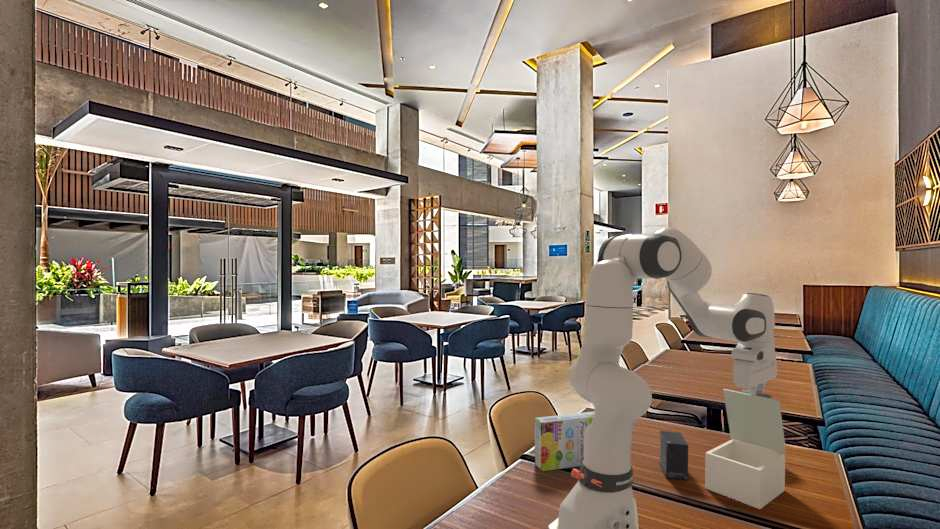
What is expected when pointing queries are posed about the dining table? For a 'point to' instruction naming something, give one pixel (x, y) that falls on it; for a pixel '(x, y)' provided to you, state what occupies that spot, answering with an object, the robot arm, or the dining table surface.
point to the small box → (673, 455)
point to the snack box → (560, 440)
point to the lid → (755, 419)
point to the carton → (745, 473)
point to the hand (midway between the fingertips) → (756, 398)
